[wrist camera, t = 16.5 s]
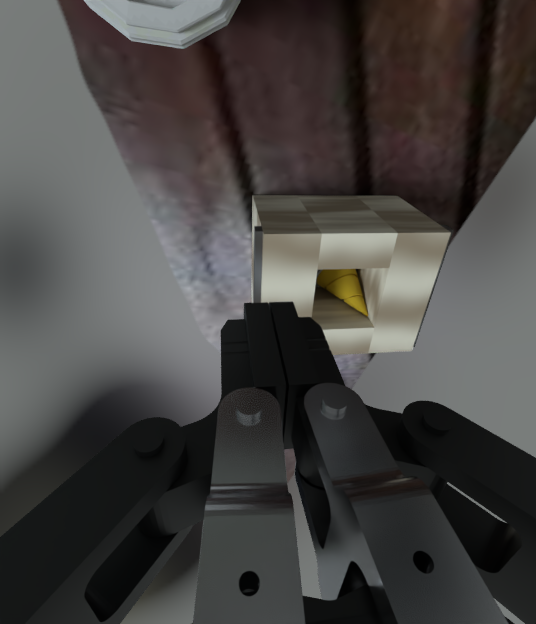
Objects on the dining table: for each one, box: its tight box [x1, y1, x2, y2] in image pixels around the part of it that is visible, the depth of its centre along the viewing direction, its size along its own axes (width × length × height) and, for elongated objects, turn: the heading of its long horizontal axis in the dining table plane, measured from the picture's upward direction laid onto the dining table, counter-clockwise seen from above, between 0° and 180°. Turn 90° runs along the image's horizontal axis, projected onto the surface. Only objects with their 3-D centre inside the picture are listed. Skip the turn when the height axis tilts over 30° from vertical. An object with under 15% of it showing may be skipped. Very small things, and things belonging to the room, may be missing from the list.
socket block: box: [251, 195, 454, 355], centre depth 38 cm, size 13×17×11 cm
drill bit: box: [315, 269, 368, 316], centre depth 39 cm, size 5×5×10 cm
